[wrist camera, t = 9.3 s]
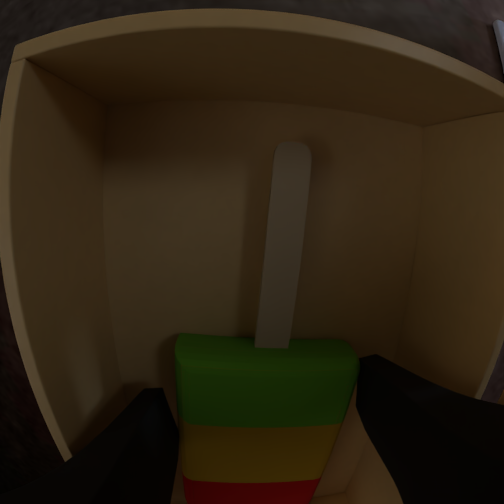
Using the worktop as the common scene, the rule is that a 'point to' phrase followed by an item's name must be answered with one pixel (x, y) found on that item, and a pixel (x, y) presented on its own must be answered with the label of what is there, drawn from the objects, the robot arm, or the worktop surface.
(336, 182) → the carton
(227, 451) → the popsicle
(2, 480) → the worktop surface
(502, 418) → the robot arm
